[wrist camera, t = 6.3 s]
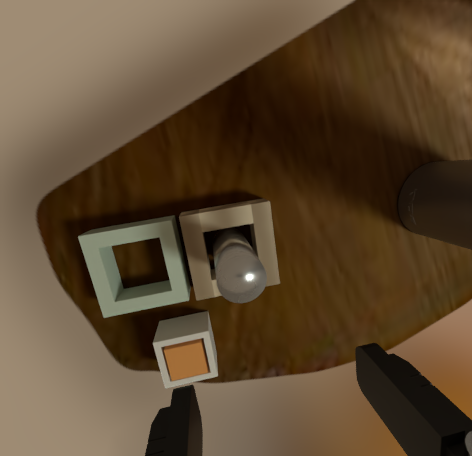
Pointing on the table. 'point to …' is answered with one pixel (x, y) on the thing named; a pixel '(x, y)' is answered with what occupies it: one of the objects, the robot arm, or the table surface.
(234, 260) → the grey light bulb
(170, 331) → the housing
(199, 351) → the orange cube
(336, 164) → the table surface
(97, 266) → the frame
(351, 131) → the table surface
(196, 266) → the socket block
